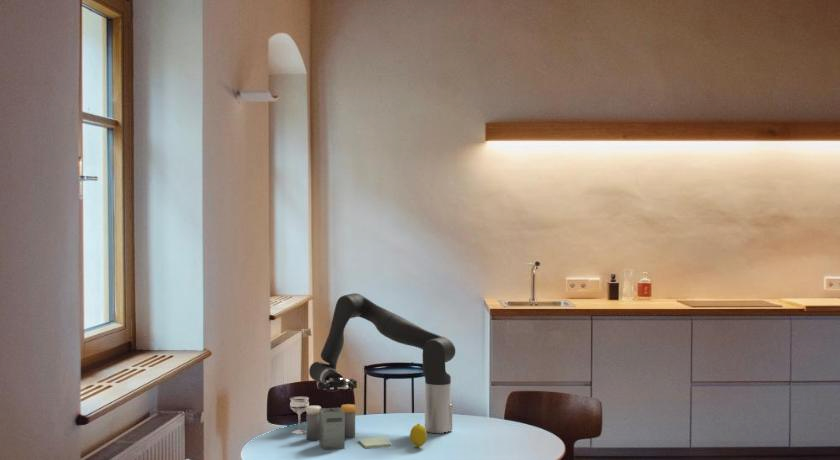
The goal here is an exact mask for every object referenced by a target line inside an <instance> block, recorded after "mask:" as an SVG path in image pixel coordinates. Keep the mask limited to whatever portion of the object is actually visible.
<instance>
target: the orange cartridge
mask: <svg viewBox="0 0 840 460" xmlns="http://www.w3.org/2000/svg"><path fill="white" fill-rule="evenodd" d="M356 406H357V405H356V404H353V403H346V404H344V403H343V404H342V405H341V407H340V408H341V409H342V410H343V411H345V440H353V439H355V438H356V410H357V407H356Z"/></svg>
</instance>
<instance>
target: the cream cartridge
mask: <svg viewBox="0 0 840 460" xmlns="http://www.w3.org/2000/svg"><path fill="white" fill-rule="evenodd" d="M321 408H322V406H320V405H309V406H307V407H306V411H305V412H306V434H305V435H306V436H305V437H306V439H305V440H306V441H308V442H316V441H318V442H319V420H320V409H321Z"/></svg>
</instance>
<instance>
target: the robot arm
mask: <svg viewBox="0 0 840 460" xmlns="http://www.w3.org/2000/svg"><path fill="white" fill-rule="evenodd" d="M354 318H361V319H364V320H367V321H368V322H370V323H372V325H374V327H375V328H376V330H377V331H378V333H380V334H381V335H382V336H384V337H386V338H387V339H390V340H392V341H394V342H396V343H399V344H402V345H405V346H410V347H415V348H417V349H421V350H422V372H423V376H424V381H425V382H424V428H425V429H426V433H430V434H431V433H432V434H445V433H444V432H446V433H449V432H452V431H453V404H452V403H451V395H452V394H451V393H452V391H451V387H452V385H451V383H452V382H451V379H452V377H451V375H450V374H449V373H447V371H446V363H448V362H449V361H452V360H453V358H454V357H456V347H455V345H454V343H453V342H452V341H451V340H450V339H449V338H447V337H445V336H441V335H439V334H437V333H434V332H431V331H429V330H427V329H425V328H423V327H421V326H419V325H417V324H415V323H414V322H412V321H409V320H408V319H406V318H405V317H403V316H400V315H398V314H396V313H394V312H392V311H390V310H388V309H386V308H383V307H381V306H379V305H377V304H376V303H374V302H373V301H372V300H370V299H368V298H367V297H365V296H364V295H362V294H360V293H356V292H355V293H350V294H345V295H341V296H340V297H339V298H338V299H337V301H336V304H335V307H334V312H333V316H332V321H331V323H330V324H331V325H330V328H329V329H330V330H329V332H328V335H327V337H326V341H325V342H324V343H325V344H324V345H323V347H322V350H321V352H320V358H321V360H323V361H324V362H326V363H324V362H321V361H315V362H312V363H311V365H310V367H309V372H308V373H309V377H310V378H311V379H312V380H314V381H316V387H317V389H318V390H320V391H322V389H323V390H324V391H327V392H333V393H335V392H337V391H339V390H340V389H342V390H347V389H349V390H350V391H354V390H355V389H357V388H358V386H357V385H358V381H357V380H355V379H354V378H352V377H351V378H349V379H347V378H344V377H343V375H342V374H341V373H340V372H339V371H337V364H338V360H339V357H340V355H341V353H342V350H343V348H344V342H345V337H344V332H345V328H346V325H347V324H348V322H349V321H350V319H354ZM451 430H452V431H451ZM448 431H449V432H448Z"/></svg>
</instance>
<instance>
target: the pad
mask: <svg viewBox="0 0 840 460" xmlns="http://www.w3.org/2000/svg"><path fill="white" fill-rule="evenodd" d="M358 443H359V444H360V445H361V446H362V447H363V448H364V449H372V448H373V449H374V448H375V449H376V448H385V447H387V448H388V447H392V443H391V442H390V441H389V440H388V439H387V438H385V437H384V436H383V437H382V436H381V437H371V438H359V439H358Z"/></svg>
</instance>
